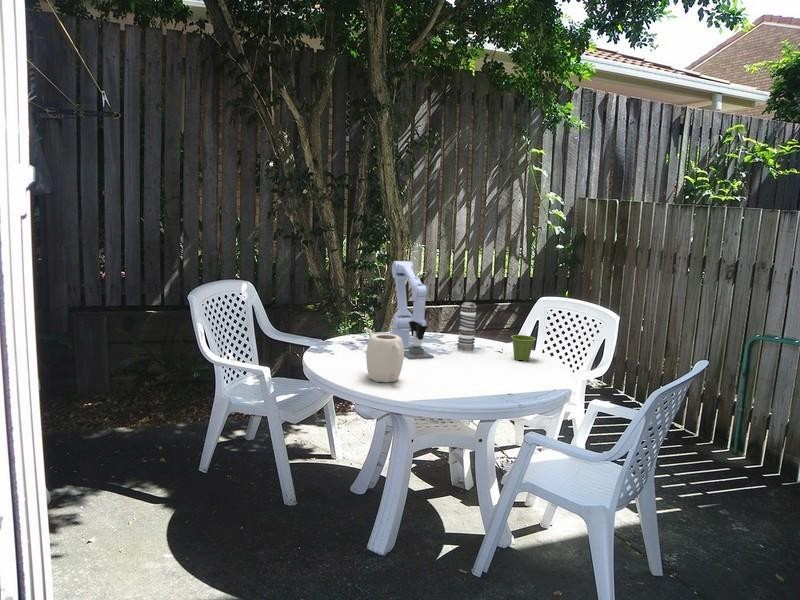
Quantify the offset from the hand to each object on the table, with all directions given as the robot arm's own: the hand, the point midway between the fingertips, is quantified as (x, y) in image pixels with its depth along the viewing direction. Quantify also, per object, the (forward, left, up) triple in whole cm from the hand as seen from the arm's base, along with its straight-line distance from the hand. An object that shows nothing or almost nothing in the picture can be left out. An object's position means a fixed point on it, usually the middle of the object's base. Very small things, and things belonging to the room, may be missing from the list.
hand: (417, 337), depth 342 cm
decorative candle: (+8, +29, -9) cm, 31 cm away
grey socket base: (0, 0, -9) cm, 9 cm away
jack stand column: (0, 0, -4) cm, 4 cm away
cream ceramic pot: (+20, -44, -9) cm, 49 cm away
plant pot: (+36, +38, -9) cm, 53 cm away
